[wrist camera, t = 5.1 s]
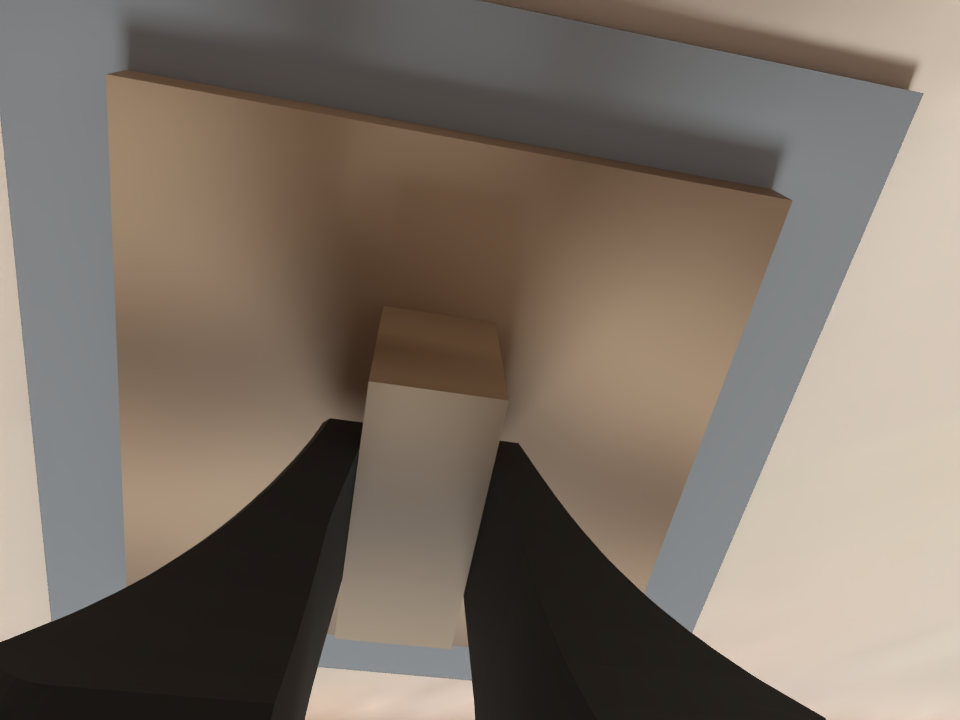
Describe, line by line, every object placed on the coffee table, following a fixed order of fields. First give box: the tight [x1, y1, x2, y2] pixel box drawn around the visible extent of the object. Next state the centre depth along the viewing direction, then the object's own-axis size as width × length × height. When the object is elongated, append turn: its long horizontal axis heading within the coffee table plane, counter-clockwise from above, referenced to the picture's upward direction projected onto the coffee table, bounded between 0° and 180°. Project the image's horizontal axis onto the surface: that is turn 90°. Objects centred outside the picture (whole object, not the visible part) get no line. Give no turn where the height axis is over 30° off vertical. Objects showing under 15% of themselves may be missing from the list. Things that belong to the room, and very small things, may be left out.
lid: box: [106, 70, 793, 649], centre depth 13 cm, size 11×11×4 cm
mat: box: [0, 0, 923, 680], centre depth 15 cm, size 15×15×1 cm
